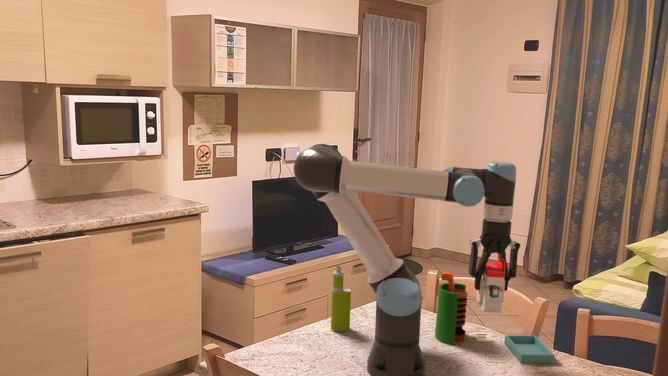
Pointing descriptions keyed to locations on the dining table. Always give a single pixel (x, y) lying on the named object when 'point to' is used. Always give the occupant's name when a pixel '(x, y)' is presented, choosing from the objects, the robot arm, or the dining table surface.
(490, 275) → the ink box
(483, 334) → the label card
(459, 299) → the motor
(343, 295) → the vape
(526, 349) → the tray
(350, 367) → the dining table surface
